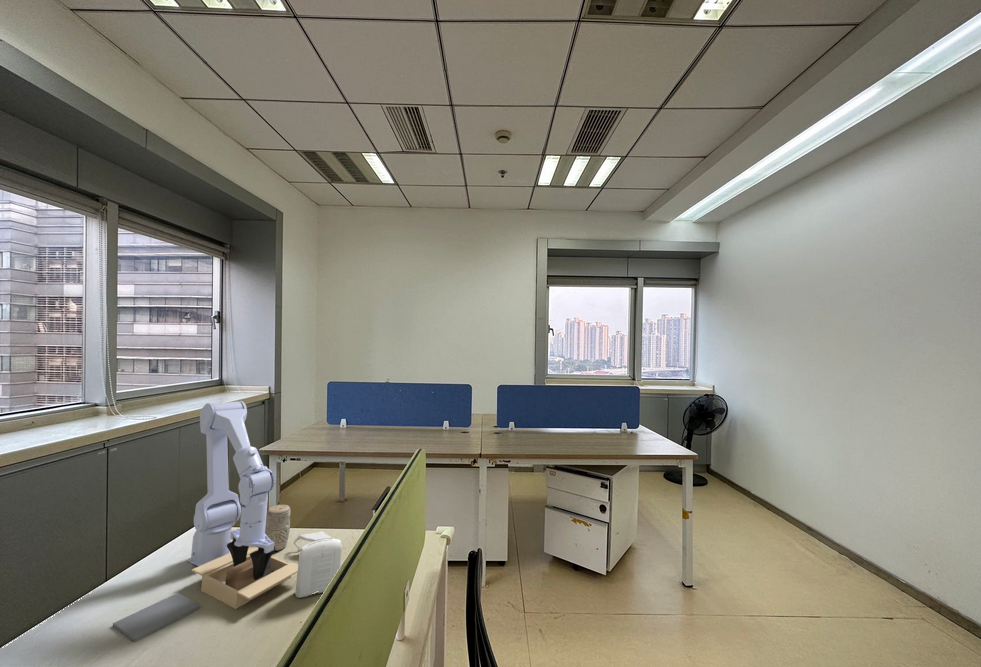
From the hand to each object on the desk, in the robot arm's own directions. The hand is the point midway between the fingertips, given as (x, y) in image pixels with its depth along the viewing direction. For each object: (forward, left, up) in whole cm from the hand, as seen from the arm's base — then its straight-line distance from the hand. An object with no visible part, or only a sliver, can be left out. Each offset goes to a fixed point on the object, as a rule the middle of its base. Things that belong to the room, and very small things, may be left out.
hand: (248, 573), depth 99 cm
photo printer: (+17, +7, -3) cm, 19 cm away
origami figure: (+1, +19, -3) cm, 20 cm away
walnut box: (0, -1, -3) cm, 3 cm away
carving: (-10, +15, -3) cm, 18 cm away
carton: (0, 0, -3) cm, 3 cm away
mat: (-5, -17, -3) cm, 18 cm away
